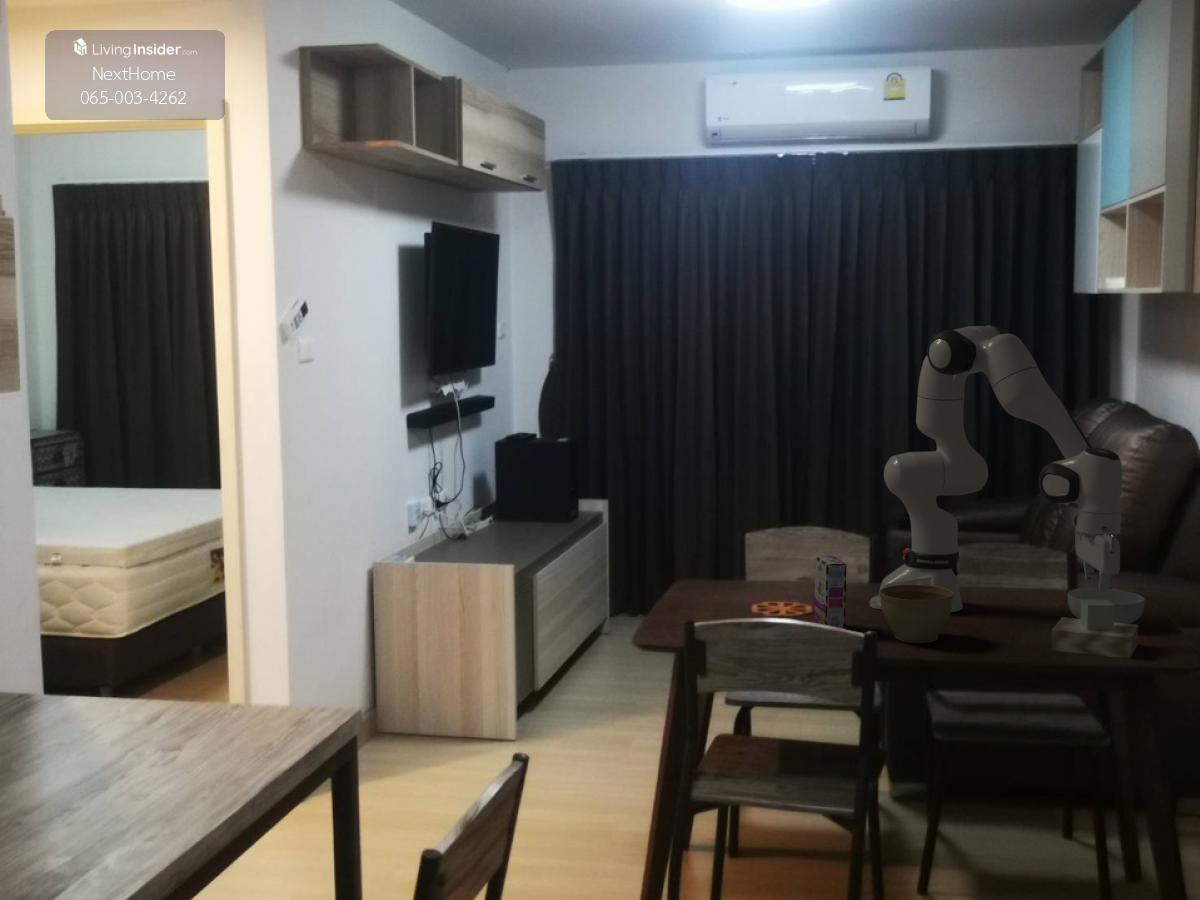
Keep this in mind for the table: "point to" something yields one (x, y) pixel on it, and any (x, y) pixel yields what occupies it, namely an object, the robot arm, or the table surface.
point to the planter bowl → (916, 611)
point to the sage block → (1097, 614)
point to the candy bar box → (830, 591)
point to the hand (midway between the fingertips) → (1096, 586)
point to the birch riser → (1095, 639)
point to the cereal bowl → (1124, 602)
